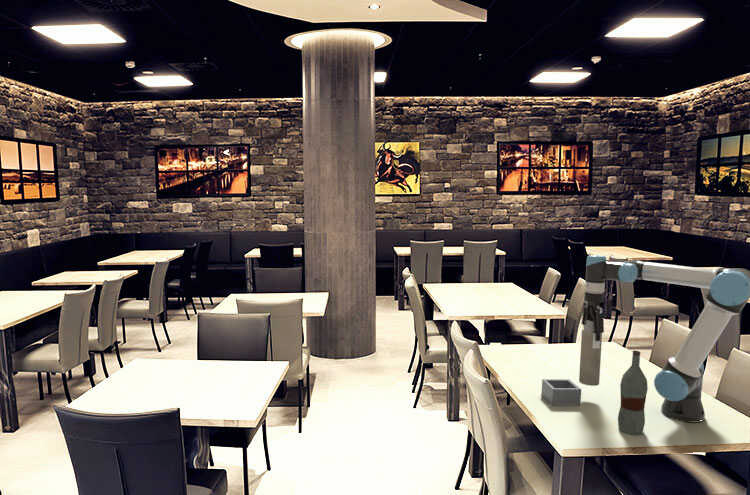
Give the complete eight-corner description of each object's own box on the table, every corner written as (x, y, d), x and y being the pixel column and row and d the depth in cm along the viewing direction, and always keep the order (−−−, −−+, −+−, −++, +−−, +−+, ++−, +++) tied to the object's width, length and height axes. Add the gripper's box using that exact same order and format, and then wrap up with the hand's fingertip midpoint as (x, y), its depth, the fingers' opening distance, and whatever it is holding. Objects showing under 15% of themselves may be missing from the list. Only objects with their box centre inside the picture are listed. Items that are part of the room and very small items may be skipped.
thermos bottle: (576, 379, 234) (579, 315, 232) (594, 379, 235) (597, 315, 232) (583, 385, 226) (587, 319, 224) (602, 385, 227) (606, 320, 224)
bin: (580, 405, 224) (581, 389, 224) (551, 405, 224) (552, 389, 223) (568, 395, 236) (569, 379, 236) (541, 394, 236) (542, 379, 235)
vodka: (616, 423, 208) (622, 346, 205) (643, 427, 205) (649, 349, 202) (617, 432, 199) (623, 353, 196) (645, 437, 196) (651, 356, 193)
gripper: (575, 287, 237) (572, 338, 239) (597, 296, 216) (593, 352, 218) (591, 287, 237) (588, 338, 240) (615, 296, 217) (611, 352, 219)
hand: (591, 345), depth 229 cm, fingers closed on thermos bottle, 8 cm apart
